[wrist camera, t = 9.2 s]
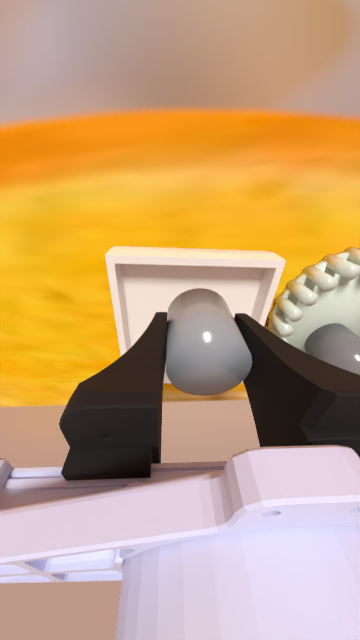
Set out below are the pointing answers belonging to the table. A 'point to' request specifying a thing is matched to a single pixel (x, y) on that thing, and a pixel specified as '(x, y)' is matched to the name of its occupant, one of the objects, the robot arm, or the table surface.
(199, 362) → the pebble slate
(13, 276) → the table surface
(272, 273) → the parts tray
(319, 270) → the celadon bowl
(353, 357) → the pebble charcoal
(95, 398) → the robot arm
